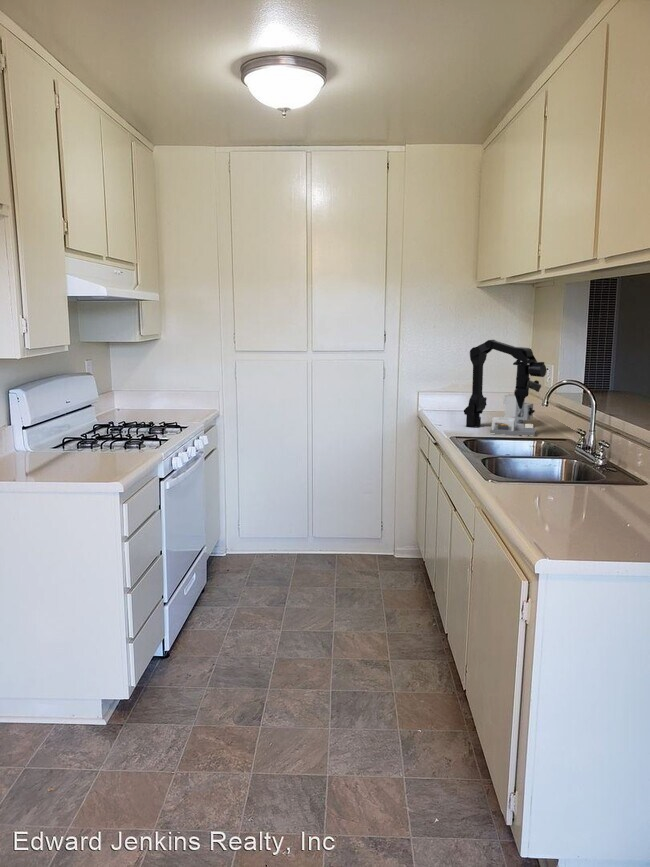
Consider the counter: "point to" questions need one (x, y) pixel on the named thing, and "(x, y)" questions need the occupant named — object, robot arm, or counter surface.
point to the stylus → (520, 411)
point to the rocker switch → (528, 425)
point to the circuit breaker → (512, 410)
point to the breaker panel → (510, 430)
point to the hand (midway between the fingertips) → (520, 408)
